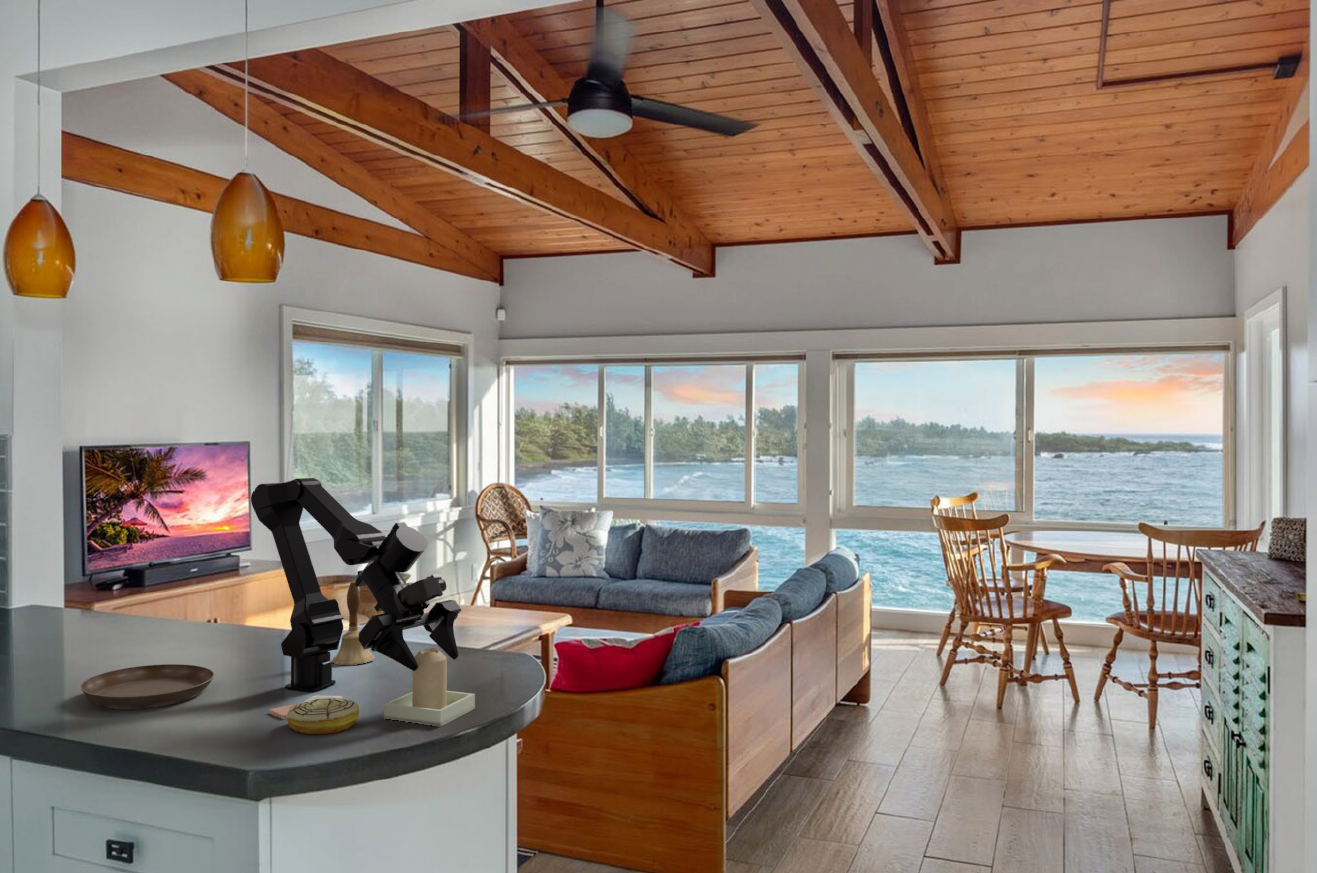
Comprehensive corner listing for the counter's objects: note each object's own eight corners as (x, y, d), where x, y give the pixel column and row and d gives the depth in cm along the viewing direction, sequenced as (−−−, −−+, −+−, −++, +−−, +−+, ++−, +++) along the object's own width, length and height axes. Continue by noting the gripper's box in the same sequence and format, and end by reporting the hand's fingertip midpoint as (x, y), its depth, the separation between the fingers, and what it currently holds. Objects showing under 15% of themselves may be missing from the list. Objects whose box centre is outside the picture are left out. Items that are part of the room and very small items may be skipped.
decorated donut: (317, 714, 158) (317, 691, 158) (372, 721, 154) (372, 698, 154) (272, 733, 148) (273, 708, 148) (330, 740, 144) (330, 715, 144)
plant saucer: (232, 697, 167) (232, 679, 167) (100, 722, 152) (100, 702, 152) (190, 675, 181) (190, 658, 181) (65, 696, 167) (65, 677, 167)
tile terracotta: (269, 716, 157) (269, 709, 157) (298, 710, 161) (298, 703, 161) (283, 723, 154) (283, 715, 154) (312, 716, 157) (312, 709, 157)
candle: (444, 714, 155) (444, 653, 155) (410, 715, 155) (410, 654, 155) (448, 704, 161) (448, 645, 161) (414, 705, 160) (415, 646, 160)
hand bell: (322, 663, 191) (323, 584, 191) (350, 654, 199) (351, 578, 198) (356, 667, 188) (357, 587, 188) (383, 658, 195) (384, 581, 195)
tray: (383, 719, 154) (384, 704, 154) (420, 702, 164) (421, 687, 164) (440, 726, 151) (440, 711, 151) (474, 708, 161) (474, 694, 161)
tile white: (301, 710, 161) (301, 703, 161) (314, 702, 166) (314, 695, 166) (330, 711, 160) (330, 704, 160) (342, 703, 165) (342, 696, 165)
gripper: (371, 566, 152) (420, 644, 146) (453, 553, 168) (501, 623, 162) (337, 610, 156) (384, 687, 150) (421, 594, 172) (466, 663, 166)
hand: (436, 663), depth 157 cm, fingers open, 9 cm apart
